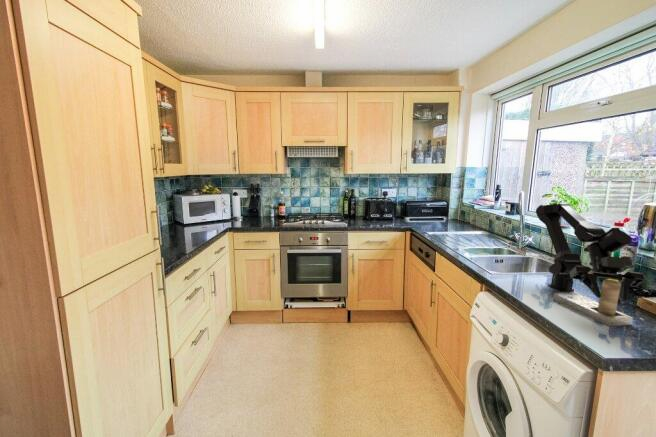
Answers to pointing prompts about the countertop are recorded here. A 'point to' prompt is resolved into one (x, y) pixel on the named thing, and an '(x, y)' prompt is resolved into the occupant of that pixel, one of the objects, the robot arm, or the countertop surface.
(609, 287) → the peg
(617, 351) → the countertop surface
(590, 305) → the beige slotted board
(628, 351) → the countertop surface
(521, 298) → the countertop surface
